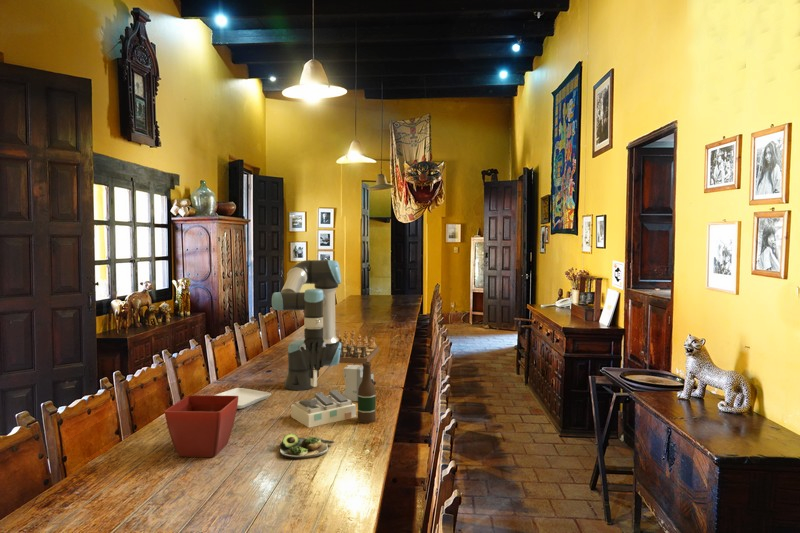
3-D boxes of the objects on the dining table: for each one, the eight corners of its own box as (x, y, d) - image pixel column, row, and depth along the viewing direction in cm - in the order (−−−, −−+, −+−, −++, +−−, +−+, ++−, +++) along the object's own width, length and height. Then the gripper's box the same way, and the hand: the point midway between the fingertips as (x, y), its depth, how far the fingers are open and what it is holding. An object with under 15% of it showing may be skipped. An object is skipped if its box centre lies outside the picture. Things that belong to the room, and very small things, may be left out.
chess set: (322, 349, 361) (322, 327, 360) (379, 351, 355) (379, 329, 354) (303, 362, 321) (303, 338, 320) (367, 364, 315) (367, 340, 315)
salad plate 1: (272, 399, 244) (272, 392, 244) (241, 412, 225) (241, 404, 225) (237, 393, 253) (237, 386, 253) (204, 406, 234) (204, 398, 234)
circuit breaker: (372, 402, 239) (373, 370, 239) (343, 400, 242) (343, 368, 242) (376, 397, 247) (377, 366, 246) (347, 395, 250) (347, 364, 249)
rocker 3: (329, 394, 226) (329, 390, 226) (335, 392, 228) (335, 389, 228) (340, 404, 218) (341, 401, 218) (347, 403, 220) (347, 399, 220)
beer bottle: (378, 418, 218) (379, 361, 217) (371, 424, 210) (372, 365, 209) (361, 416, 220) (361, 359, 219) (354, 422, 213) (354, 363, 212)
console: (291, 416, 219) (291, 401, 219) (336, 407, 232) (336, 392, 232) (309, 427, 206) (309, 411, 206) (356, 416, 219) (356, 401, 219)
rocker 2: (314, 396, 222) (315, 393, 222) (321, 395, 224) (321, 392, 223) (326, 407, 214) (326, 404, 214) (332, 406, 216) (333, 402, 216)
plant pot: (188, 439, 193) (188, 394, 193) (239, 440, 193) (239, 395, 192) (163, 460, 174) (163, 411, 174) (220, 462, 174) (219, 412, 173)
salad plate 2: (332, 438, 196) (332, 426, 196) (337, 457, 179) (337, 444, 179) (279, 442, 192) (279, 430, 192) (279, 462, 174) (279, 448, 174)
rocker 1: (299, 404, 218) (299, 400, 218) (306, 403, 220) (306, 399, 220) (310, 405, 210) (310, 401, 210) (317, 404, 212) (317, 400, 212)
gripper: (303, 330, 203) (303, 390, 204) (332, 327, 211) (332, 385, 212) (294, 327, 209) (294, 386, 210) (323, 325, 217) (323, 381, 218)
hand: (313, 385), depth 211 cm, fingers closed
